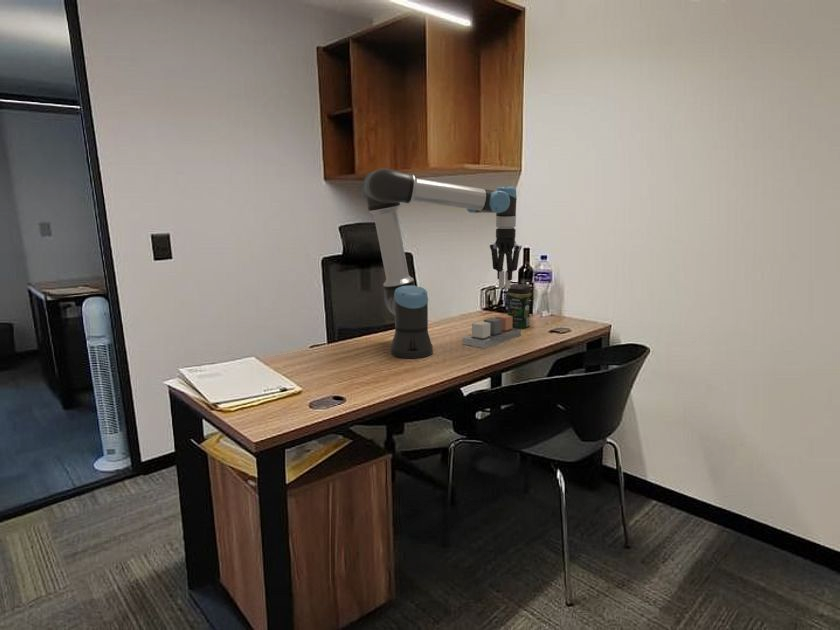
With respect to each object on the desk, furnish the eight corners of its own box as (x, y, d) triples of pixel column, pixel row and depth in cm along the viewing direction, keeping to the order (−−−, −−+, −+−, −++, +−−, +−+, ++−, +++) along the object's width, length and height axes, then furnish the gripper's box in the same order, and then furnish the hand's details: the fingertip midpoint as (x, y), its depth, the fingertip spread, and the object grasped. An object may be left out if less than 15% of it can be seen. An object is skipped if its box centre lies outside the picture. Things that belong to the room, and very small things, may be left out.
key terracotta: (505, 330, 204) (505, 318, 203) (495, 328, 208) (495, 316, 207) (512, 328, 208) (512, 316, 207) (501, 326, 211) (501, 314, 210)
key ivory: (482, 338, 193) (482, 325, 192) (471, 336, 196) (471, 323, 195) (490, 335, 196) (490, 322, 195) (479, 333, 200) (479, 321, 198)
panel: (484, 348, 190) (484, 341, 189) (462, 344, 196) (462, 337, 196) (520, 335, 209) (520, 329, 208) (499, 331, 215) (499, 325, 215)
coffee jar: (503, 326, 225) (504, 284, 221) (513, 323, 230) (514, 282, 227) (523, 329, 218) (524, 286, 215) (532, 326, 224) (534, 284, 220)
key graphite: (494, 334, 198) (494, 321, 197) (483, 332, 202) (483, 319, 201) (501, 331, 202) (501, 319, 201) (490, 330, 205) (491, 317, 204)
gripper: (528, 227, 198) (526, 288, 202) (494, 227, 207) (493, 285, 212) (518, 228, 192) (516, 291, 197) (483, 227, 202) (483, 287, 207)
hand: (504, 287), depth 205 cm, fingers open, 2 cm apart
